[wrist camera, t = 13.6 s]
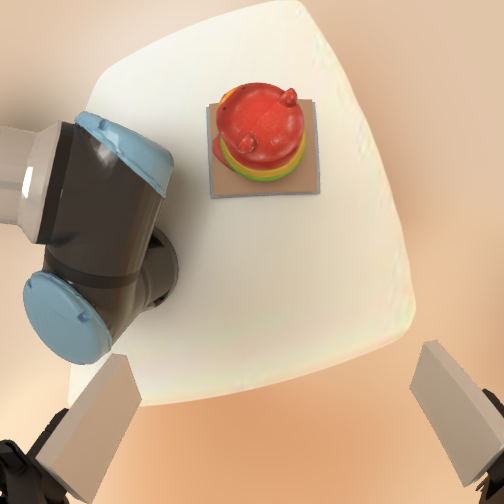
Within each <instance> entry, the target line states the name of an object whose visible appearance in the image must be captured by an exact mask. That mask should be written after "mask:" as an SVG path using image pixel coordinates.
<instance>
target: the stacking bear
mask: <svg viewBox="0 0 504 504" xmlns="http://www.w3.org/2000/svg"><path fill="white" fill-rule="evenodd" d="M216 125H217V129H218V131H219V134H218V135H217V137H216V138H215V139H214V140H213V148H212V150H213V153H214V155H215V156H216V157H217V158H218V159H219V160H220V161H221V162H222V163H223V164H224V165H225V166H226V167H228V168H229V169H231V170H232V171H234V172H236V173H238V174H240V175H241V176H243V177H245V178H248V179H250V180H254V181H273V180H277V179H280V178H282V177H284V176H286V175H288V174H289V173H290V172H292V171H293V170H294V169H295V168H296V167H297V165H298V164H299V163H300V161H301V159H302V157H303V155H304V152H305V149H306V140H307V139H306V130H305V127H304V117H303V113H302V110H301V108H300V106H299V104H298V103H297V94H296V92H295V90H294V89H293V88H290V89H288V90H287V91H286V92H285V91H284V90H282V89H280V88H279V87H276V86H274V85H271V84H266V83H248V84H244V85H241V86H238V87H236V88H234V89H232V90H230V91H229V92H227V93H226V94H225V95H224V96H223V97H222V99H221V101H220V102H219V104H218V108H217V112H216Z"/></svg>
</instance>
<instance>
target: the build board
mask: <svg viewBox="0 0 504 504" xmlns="http://www.w3.org/2000/svg"><path fill="white" fill-rule="evenodd" d="M297 103H298V104H299V106H300V108H301V110H302V113H303V117H304V127H305V130H306V139H307V140H306V149H305V152H304V155H303V157H302V159H301V161H300V163H299V164H298V165H297V167H296V168H295V169H294V170H293V171H292V172H290V173H289V174H288V175H286V176H284V177H282V178H280V179H277V180H273V181H254V180H250V179H248V178H245V177H243V176H241V175H240V174H238V173H236V172H234V171H232V170H231V169H229V168H228V167H226V166H225V165H224V164H223V163H222V162H221V161H220V160H219V159H218V158H217V157H216V156H215V155H214V153H213V150H212V148H213V140H214V139H215V138H216V137H217V135H218V134H219V131H218V129H217V125H216V112H217V108H218V104H219V103H216V104H209V107H206V111H207V138H208V159H209V177H210V193H211V199H212V198H227V197H244V196H265V195H295V194H320V171H319V151H318V135H317V122H316V110H315V102H312V100H303V99H297Z"/></svg>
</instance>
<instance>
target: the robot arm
mask: <svg viewBox="0 0 504 504" xmlns="http://www.w3.org/2000/svg"><path fill="white" fill-rule="evenodd" d="M173 167H174V161H173V158H172V155H171V154H170V153H169V151H167V150H166V149H165V148H163V147H162V146H160V145H158V144H157V143H155V142H153V141H151V140H149V139H148V138H146V137H144V136H142V135H140V134H138V133H136V132H134V131H132V130H129V129H127V128H125V127H123V126H121V125H119V124H116V123H114V122H110V121H109V120H107V119H104V118H101V117H100V116H98V115H95V114H92V113H89V112H81V113H80V114H79V115H78V117H76V118H75V124H71V123H67V122H62V121H57V122H55V123H53V124H52V125H50V126H49V127H47V128H46V129H44V130H43V131H40V132H37V133H36V132H31V131H26V130H21V129H16V128H10V127H4V126H0V223H5V224H13V225H18V226H19V227H20V228H21V229H22V230H23V232H24V233H25V234H26V236H27V237H28V239H29V240H30V241H31V243H34V244H44V245H46V247H45V255H44V263H43V268H42V270H41V271H38V272H35V273H33V274H32V276H31V278H30V279H28V280H27V282H26V284H25V286H24V291H23V301H24V307H25V310H26V313H27V316H28V318H29V321H30V323H31V325H32V327H33V329H34V330H35V331H36V333H37V334H38V336H39V337H40V339H41V340H42V341H43V342H44V343H45V344H46V345H47V346H48V347H49V348H50V349H51V350H52V351H53V352H54V353H56V354H57V355H58V356H60V357H61V358H63V359H65V360H67V361H69V362H71V363H74V364H78V365H85V364H93V363H95V362H97V361H98V360H99V359H100V358H101V357H102V356H103V355H104V354H106V353H108V352H109V351H110V350H111V347H112V345H113V344H114V343H115V342H116V341H117V339H118V338H119V337H120V336H121V334H122V333H123V332H124V331H125V330H126V328H127V327H128V326H129V325H130V324H131V323H132V321H133V320H134V319H135V318H136V317H137V315H138V314H139V313H140V312H143V311H146V310H150V309H153V308H155V307H157V306H159V305H160V304H161V303H163V302H164V301H165V300H166V299H167V297H168V296H169V295H170V294H171V292H172V291H173V289H174V287H175V285H176V282H177V278H178V261H177V257H176V253H175V251H174V248H173V246H172V245H171V243H170V241H169V240H168V239H167V237H166V236H165V235H164V234H163V233H162V232H161V231H160V230H159V229H157V228H156V227H154V225H155V222H156V219H157V216H158V213H159V210H160V207H161V204H162V201H163V199H165V198H166V196H167V194H166V190H167V186H168V183H169V180H170V177H171V174H172V172H173ZM410 390H411V391H412V393H413V395H414V396H415V398H416V400H417V401H418V403H419V405H420V406H421V408H422V410H423V411H424V413H425V415H426V417H427V418H428V420H429V422H430V424H431V425H432V427H433V429H434V431H435V432H436V434H437V436H438V438H439V440H440V442H441V443H442V445H443V447H444V449H445V451H446V453H447V455H448V457H449V459H450V460H451V462H452V464H453V466H454V468H455V470H456V472H457V474H458V476H459V478H460V480H461V482H462V485H463V487H464V488H465V487H467V486H469V485H470V484H472V483H474V482H476V481H477V480H479V479H480V478H481V477H482V475H484V474H485V472H486V471H487V473H488V476H487V477H486V478H485V479H484V480H483V481H482V482H481V483H480V484H479V485H478V486H477V488H476V491H478V490H479V489H480V488H481V487H482V486H483V485H484V487H483V489H482V490H481V491H482V494H481V498H480V501H479V504H504V406H503V404H502V403H500V401H499V399H498V398H497V397H496V396H495V395H494V394H493V393H492V392H490V391H488V390H487V389H483V390H481V389H480V388H479V387H478V386H477V384H476V383H475V382H474V381H473V380H472V379H471V377H470V376H469V375H468V374H467V373H466V372H465V371H464V369H463V368H462V367H461V366H460V365H459V364H458V363H457V361H456V360H455V359H454V358H453V357H452V356H451V355H450V354H449V353H448V352H447V350H446V349H445V348H444V347H443V346H442V345H441V344H440V343H439V342H438V341H437V340H433V341H428V342H424V343H423V346H422V350H421V353H420V357H419V361H418V364H417V367H416V370H415V373H414V376H413V379H412V382H411V385H410ZM141 400H142V398H141V396H140V393H139V391H138V388H137V385H136V383H135V380H134V377H133V374H132V371H131V368H130V365H129V363H128V359H127V356H126V355H119V354H111V356H110V357H109V358H108V360H107V361H106V362H105V363H104V365H103V366H102V367H101V368H100V370H99V371H98V372H97V374H96V375H95V376H94V377H93V379H92V380H91V381H90V383H89V384H88V385H87V387H86V388H85V389H84V391H83V392H82V393H81V395H80V396H79V397H78V399H77V400H76V401H75V403H74V404H73V405H72V407H71V408H70V409H66V408H64V409H63V410H61V411H60V412H58V413H57V414H55V416H54V417H53V419H52V420H51V421H50V424H49V425H47V427H46V428H45V431H43V432H42V433H41V435H40V436H39V437H38V439H37V440H36V442H35V443H34V444H33V446H32V447H31V449H30V450H29V451H28V453H27V454H26V455H25V454H24V453H23V452H22V450H21V449H20V448H19V447H18V446H17V444H16V443H15V442H14V441H12V440H2V441H0V491H1V492H2V495H1V496H0V504H69V501H68V499H67V497H66V496H65V494H66V493H67V491H68V492H69V493H70V494H71V495H72V496H73V497H74V498H76V499H78V500H80V501H82V502H84V503H87V504H92V502H93V499H94V497H95V495H96V493H97V491H98V489H99V486H100V484H101V482H102V480H103V478H104V476H105V474H106V472H107V469H108V467H109V465H110V463H111V461H112V459H113V457H114V455H115V452H116V451H117V449H118V447H119V444H120V442H121V440H122V438H123V436H124V434H125V432H126V430H127V428H128V426H129V424H130V422H131V420H132V418H133V416H134V414H135V412H136V410H137V408H138V406H139V404H140V402H141Z"/></svg>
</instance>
